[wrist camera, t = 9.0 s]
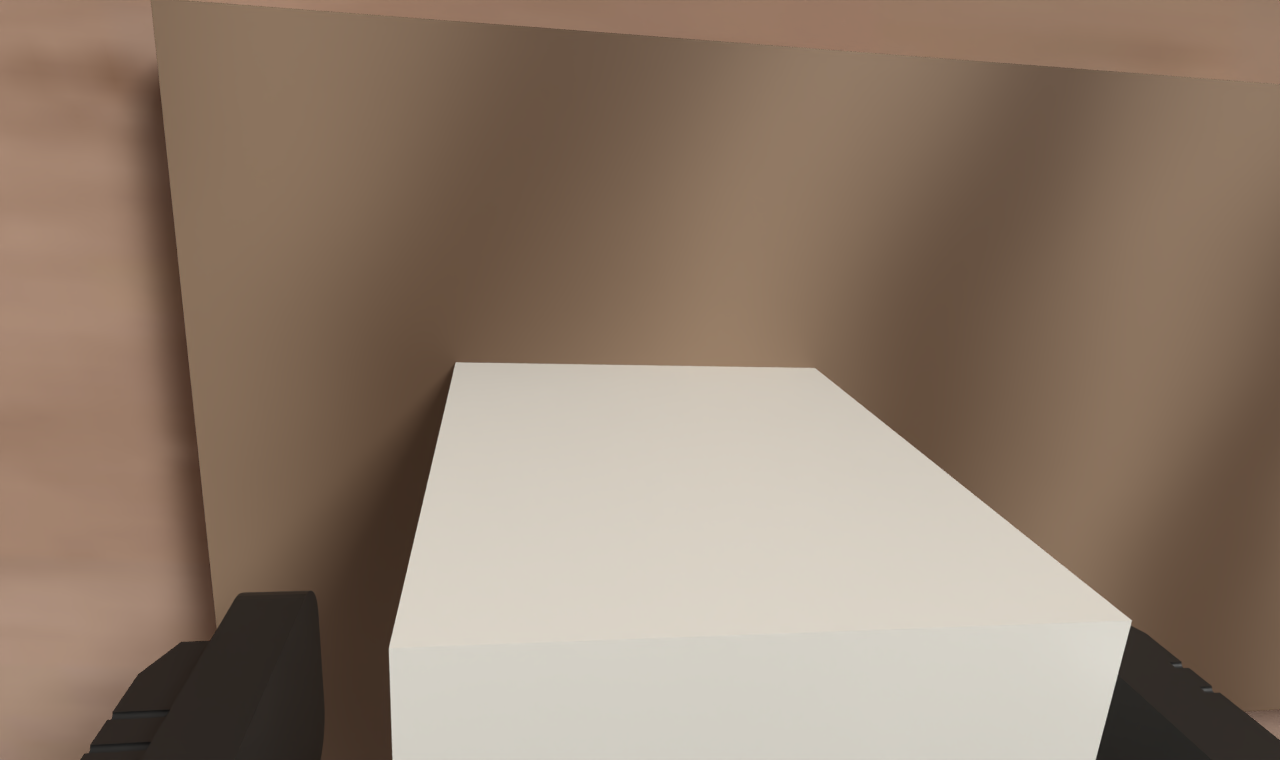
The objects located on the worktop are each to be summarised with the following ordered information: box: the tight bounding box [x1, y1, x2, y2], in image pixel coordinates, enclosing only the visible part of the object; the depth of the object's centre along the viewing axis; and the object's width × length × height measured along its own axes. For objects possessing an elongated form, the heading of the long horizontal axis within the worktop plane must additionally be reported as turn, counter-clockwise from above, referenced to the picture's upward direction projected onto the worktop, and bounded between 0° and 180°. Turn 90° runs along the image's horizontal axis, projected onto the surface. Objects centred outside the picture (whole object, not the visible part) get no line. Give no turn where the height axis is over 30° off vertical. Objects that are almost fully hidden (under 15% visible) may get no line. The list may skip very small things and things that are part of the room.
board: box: [151, 0, 1280, 760], centre depth 14 cm, size 22×11×2 cm, turn 87°
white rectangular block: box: [389, 362, 1132, 760], centre depth 9 cm, size 5×5×7 cm
